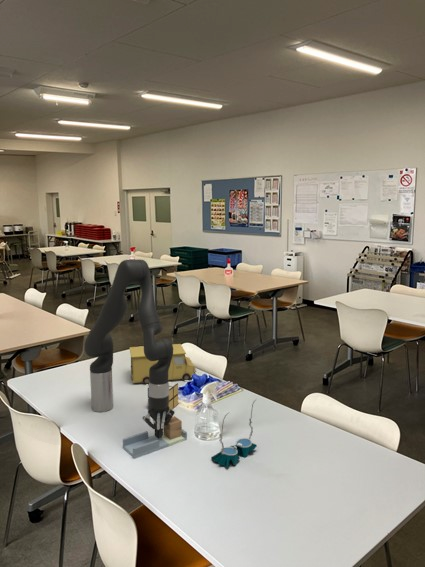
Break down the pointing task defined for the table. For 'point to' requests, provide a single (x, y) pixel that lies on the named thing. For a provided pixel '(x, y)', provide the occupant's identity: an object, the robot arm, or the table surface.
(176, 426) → the block
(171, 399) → the puzzle cube
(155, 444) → the chute
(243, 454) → the glasses
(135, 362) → the toy truck
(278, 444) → the table surface
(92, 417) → the table surface
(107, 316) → the robot arm
